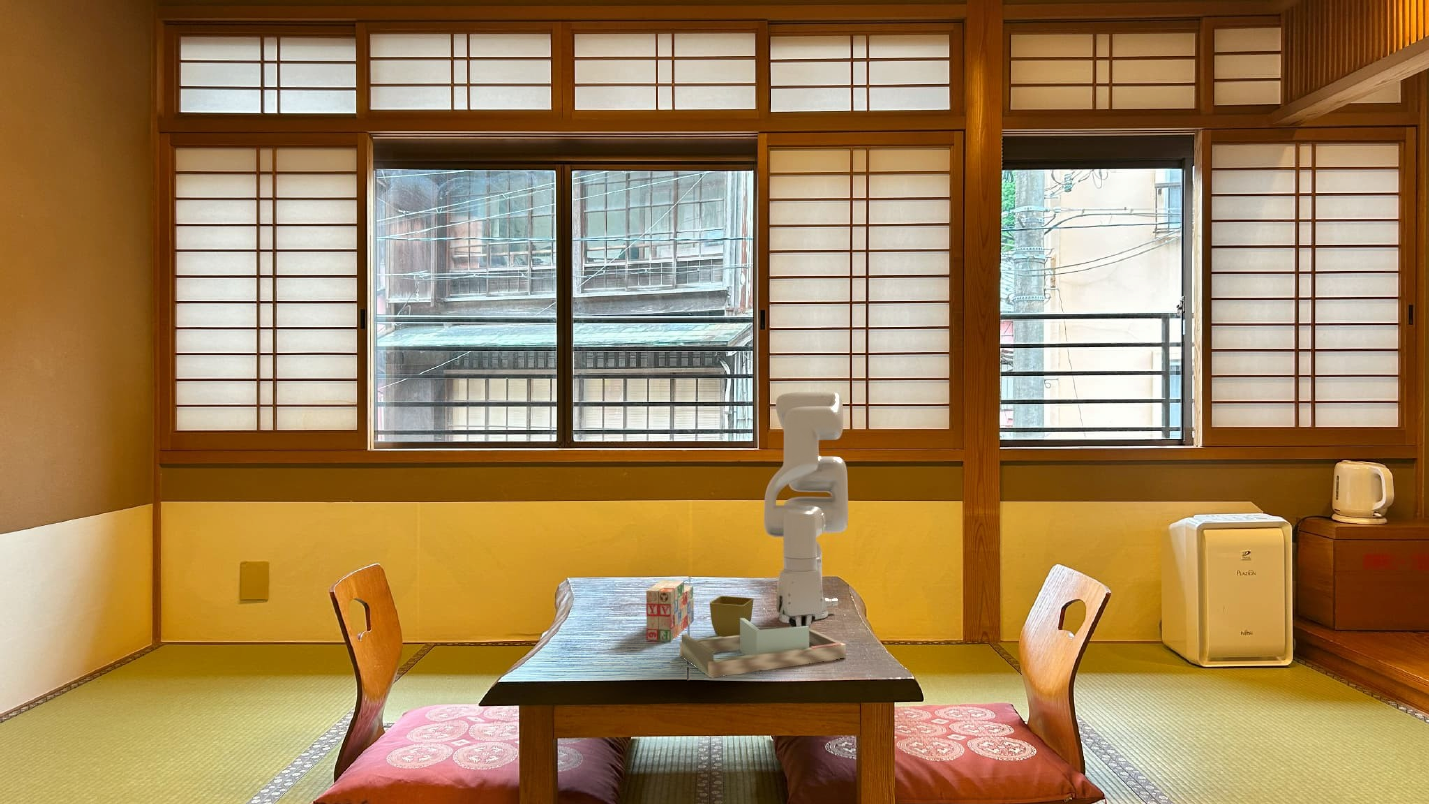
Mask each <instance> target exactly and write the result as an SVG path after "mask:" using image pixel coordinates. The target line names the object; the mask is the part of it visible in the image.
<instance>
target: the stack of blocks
mask: <svg viewBox="0 0 1429 804" xmlns="http://www.w3.org/2000/svg"><path fill="white" fill-rule="evenodd" d="M645 595H646V596H645V598H646V599H645V601H646V604H645V610H646V611H645V612H646V613H645V615H646V637H645V639H646V641H647V640H649V641H648V642H663V641H670V642H669V643H672V641H674V640H675V639H676V638H678V636H680V635H681V634H682V632H683V631H684V630H685V629H687V627H689V626H690V625H691V624H692V623H693V622H694V620H695V617H694V615H695V614H694V613H695V612H694V609H695V607H694V606H695V605H694V603H695V602H694V585H685V581H684V580H664V579H663V580H662V579H661V580H659V581H657V583H655V584H653V586H651V587H650V588H648V589H646V591H645ZM684 628H685V629H684ZM677 635H678V636H677ZM674 638H675V639H674ZM673 639H674V640H673Z"/></svg>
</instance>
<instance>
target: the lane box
mask: <svg viewBox="0 0 1429 804" xmlns="http://www.w3.org/2000/svg"><path fill="white" fill-rule="evenodd" d="M733 651H740V635H735V636H727V637H722V636H720V637H718V636H713V637H706V638H697V639H695V638H694V637H692V636H690V635H688V634H687V633H685V634H684V633H683V634H681V641H680V642H679V656H680V657H681V656H682V657H683V658H685V659H686V660H687V661H686V660H685V659H684V660H685V661H686V662H688V661H689V662H690V663H692V664H693V665H695V666H696V667H697V668H698V669H697V668H696V667H695V666H694V667H695V668H696V669H697V670H699V671H700V670H701V671H700V672H702V673H703V672H704V673H705V674H704V673H703V674H704V675H706V676H707V675H708V676H707V677H709V678H710V677H714V678H719V677H720V676H721V677H724V676H723V675H728V676H735V675H740V674H747V673H746V672H748V673H754V672H760V671H759V670H762V671H767V670H774V669H780V668H781V669H782V668H787V667H788V668H790V667H794V666H801V665H809V663H810V664H817V663H823V662H822V661H824V662H830V661H837V660H836V659H838V660H841V659H840V658H844V659H847V644H846V643H843V642H842V641H839V640H836V639H835V638H832V637H830V636H828V635H826V634H823V633H821V632H820V631H819V632H818V631H816V630H815V629H812V628H810V629H809V648H804V649H797V650H790V651H782V652H775V653H768V654H760V655H746V656H745V655H741V656H739V655H738V656H732V657H723V658H717V659H715V658H714V654H718V653H725V652H733ZM682 657H681V658H682ZM683 658H682V659H683ZM689 662H688V663H689ZM690 663H689V664H690ZM692 664H691V665H692ZM693 665H692V666H693Z"/></svg>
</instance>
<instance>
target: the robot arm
mask: <svg viewBox="0 0 1429 804" xmlns="http://www.w3.org/2000/svg"><path fill="white" fill-rule="evenodd" d="M842 400H843V399H842V397H841V396H840V395H839V394H838V393H837V392H835V391H833V392H831V391H829V392H827V391H825V392H824V391H823V392H820V391H819V392H818V391H817V392H816V391H815V392H813V391H812V392H809V391H802V392H800V391H798V392H788V393H787V392H786V393H781V395H779V396H778V397H777V398H776V400H775V410H776V415H777V418H778V420H779V423H780V426H781V428H782V430H783V464H782V466H781V467H780V469H778V470H777V472H776V473H775V474H774V475H773V477H772V478H771V479H770V480H769V483H768V485H767V487H766V490H765V494H764V509H763V510H764V511H763V512H764V513H763V523H764V525H763V526H764V529H765V532H766V534H767V535H768V536H770V537H774V538H782V539H783V542H782V543H783V545H782V547H783V548H782V549H783V550H782V551H783V570H782V569H781V570H779V575H778V579H777V587H776V588H777V589H776V605H775V606H776V609H775V610H776V612H777V613H779V615H778V621H779V622H782V623H786V624H788V625H790V627H801V626H808V627H809V629H811V626H812V624H813V623H814V622H815V621H816V620H823V619H825V618H827V617H828V616H829V610H828V608H829V607H836V606H838V605H839V600H838V598H835V597H834V598H827V597H824V591H823V561H822V560H823V558H822V557H823V553H822V547H821V545H820V543H819V542H818V540H817V538H818V537H819V536H821V535H822V534H835V533H836V534H838V533H839V534H840V533H842V532H845V531H846V530H847V527H848V524H849V493H848V491H849V489H848V486H849V485H848V484H849V483H848V470H847V464H846V462H845V460H844V459H842V458H841V457H839V456H831V455H830V456H821V455H820V454H819V450H820V449H819V448H820V447H819V445H820V444H819V443H820V441H825V440H826V441H830V440H831V441H832V440H833V441H834V440H838V439H840V438H841V437H842V434H843V432H844V431H843V429H844V406H843V401H842ZM786 486H789V488H790V489H791V490H793V491H795V492H804V493H814V492H815V493H828V494H830V496H796V497H795V496H794V497H791V498H788V499H787V500H786V501H785V502H784V503H783V504H780V505H779V504H777V497H778V495H779V493H780V492H781V490H783V489H784V488H785V487H786Z"/></svg>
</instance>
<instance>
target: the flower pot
mask: <svg viewBox="0 0 1429 804" xmlns="http://www.w3.org/2000/svg"><path fill="white" fill-rule="evenodd" d="M753 607H754V598H753V597H743V596H728V595H719V596H717V597H716V598H714V599H713V600H711V601H710V602H709V610H710V613H709V614H710V620H711V625H712V629H713V631H714V633H715V634H716V637H720V636H722V637H727V636H735V635H740V618H745V619H746V620H748V621H749V622H750V623H751V621H752V617H753V616H752V615H753Z"/></svg>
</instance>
